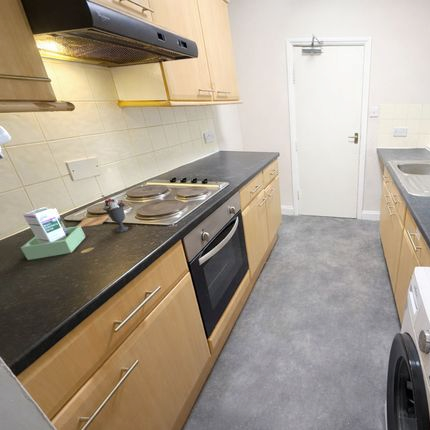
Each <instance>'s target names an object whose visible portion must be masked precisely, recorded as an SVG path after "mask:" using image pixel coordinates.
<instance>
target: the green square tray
mask: <svg viewBox="0 0 430 430" xmlns="http://www.w3.org/2000/svg"><path fill="white" fill-rule="evenodd" d="M65 228H66V230H67V232H68V234H69V236H68V237H67V238H66V239H65V240H62V241H56V242H49V243H43V244H40V243H39V242H38V240H37V238H36V236H35V235H34V237H33V238H31V239H29V240H28V241H27V242H26V243H25V244H23V245H22V246H21V247H20V250H21V252H22V253H23V255H24V256H25V258H26V259H27V261H30V260H37V259H43V258H48V257H54V256H55V257H56V256H60V255H65V254H71V253H73V252H74V251H75V249H76V248H77V247H78V246H79V245H80V244H81V243H82V242H83V241H84V239H85V238H86V235H85V233H84V231H83V229H82V228H83V227H81V226H77V225H76V226H70V227H65Z"/></svg>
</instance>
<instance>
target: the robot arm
mask: <svg viewBox="0 0 430 430" xmlns="http://www.w3.org/2000/svg"><path fill="white" fill-rule="evenodd" d="M11 140H12V136H11V135H10V133H8V131H7V130H6V129H5V128H4V127H2V126H1V125H0V160H1V159H4V158H6V156H5V155H4V153H2V146H1V145H2V144H5V143H6V144H7V143H9V142H11Z"/></svg>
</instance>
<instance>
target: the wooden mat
mask: <svg viewBox="0 0 430 430" xmlns="http://www.w3.org/2000/svg"><path fill="white" fill-rule="evenodd" d="M109 217H110V216H109V214H107V215H103V216H96V217H88V218H83V219H82V220H81V222H79V223H78V224H77V225H76V226H81V228H85V227H91V226H98V225H103V223H104V222H105V221H106V220H107V219H108V218H109Z"/></svg>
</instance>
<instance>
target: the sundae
mask: <svg viewBox="0 0 430 430" xmlns="http://www.w3.org/2000/svg"><path fill="white" fill-rule="evenodd" d="M101 197H102V198H105V200H104V203H105V204H104V206H103V208H102V210H103V211H105V212H106V214H107V215H109V216H108V217H109V218H110V219H111V221H112V222H114V223H117V224H118V226H119V228H117V230H116V232H118V233H121V232H126V231H128V230H129V228H130V227H128V226H124V223H123V222H124V220H125V219H126V215H125V210H124V207H125V206H126V204H125V203H123V199H121V200H120V202H119V200H118V199H116V198H115V199H114V198H109V197H108V196H105V195H104V194H103V195H101Z"/></svg>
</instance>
